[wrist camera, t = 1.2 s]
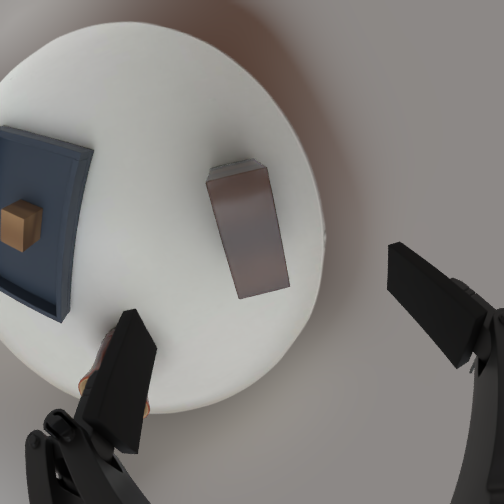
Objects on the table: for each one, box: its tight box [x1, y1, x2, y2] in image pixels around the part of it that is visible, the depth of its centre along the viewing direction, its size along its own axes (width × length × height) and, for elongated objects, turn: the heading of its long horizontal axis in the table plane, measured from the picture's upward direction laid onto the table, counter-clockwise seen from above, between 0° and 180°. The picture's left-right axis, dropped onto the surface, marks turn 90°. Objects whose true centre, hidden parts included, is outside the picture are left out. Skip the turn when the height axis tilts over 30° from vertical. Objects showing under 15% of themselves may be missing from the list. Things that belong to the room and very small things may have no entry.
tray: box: [0, 126, 94, 323], centre depth 24 cm, size 22×16×3 cm
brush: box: [206, 158, 290, 299], centre depth 24 cm, size 10×4×8 cm, turn 13°
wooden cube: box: [1, 200, 43, 252], centre depth 22 cm, size 4×4×4 cm
